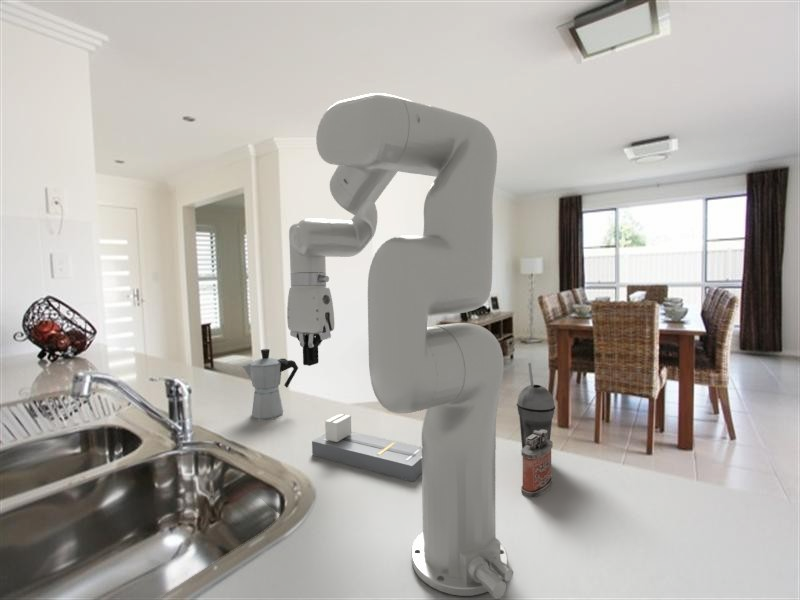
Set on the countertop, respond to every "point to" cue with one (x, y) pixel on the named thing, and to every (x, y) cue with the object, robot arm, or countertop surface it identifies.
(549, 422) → the beverage cup
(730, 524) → the countertop surface
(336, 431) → the fader knob
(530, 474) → the lighter
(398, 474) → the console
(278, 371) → the coffee maker
